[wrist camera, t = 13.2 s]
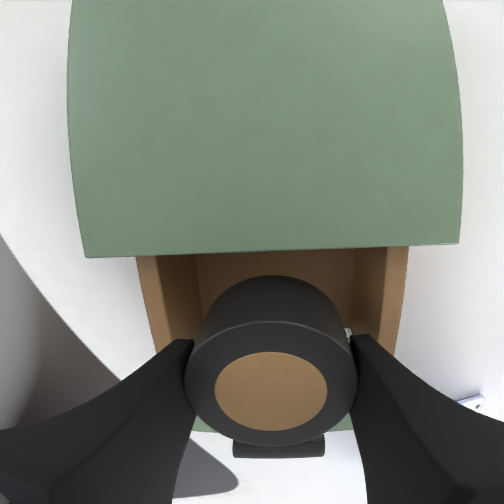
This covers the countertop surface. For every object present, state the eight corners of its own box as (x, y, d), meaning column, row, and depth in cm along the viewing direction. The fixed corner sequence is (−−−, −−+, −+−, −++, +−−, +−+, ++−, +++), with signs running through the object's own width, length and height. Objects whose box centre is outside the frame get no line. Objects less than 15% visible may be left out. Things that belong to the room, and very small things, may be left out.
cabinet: (385, 202, 15) (459, 244, 8) (162, 211, 16) (84, 259, 9) (360, -32, 11) (398, -110, 4) (152, -16, 12) (88, -82, 5)
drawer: (358, 405, 18) (374, 474, 13) (202, 409, 19) (182, 476, 14) (377, 123, 13) (432, 112, 8) (159, 135, 14) (97, 132, 9)
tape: (337, 386, 12) (348, 442, 9) (213, 388, 12) (198, 444, 9) (346, 270, 10) (369, 316, 7) (195, 276, 11) (167, 321, 8)
